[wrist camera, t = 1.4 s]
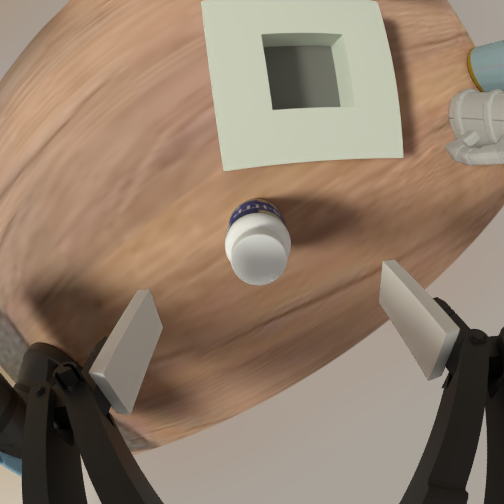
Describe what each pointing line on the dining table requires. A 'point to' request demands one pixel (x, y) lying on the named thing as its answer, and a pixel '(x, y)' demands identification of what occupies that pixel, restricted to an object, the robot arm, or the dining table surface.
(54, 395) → the robot arm
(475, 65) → the bottle
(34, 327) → the dining table surface
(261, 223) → the pill bottle
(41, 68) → the dining table surface
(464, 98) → the mug
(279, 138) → the socket block
